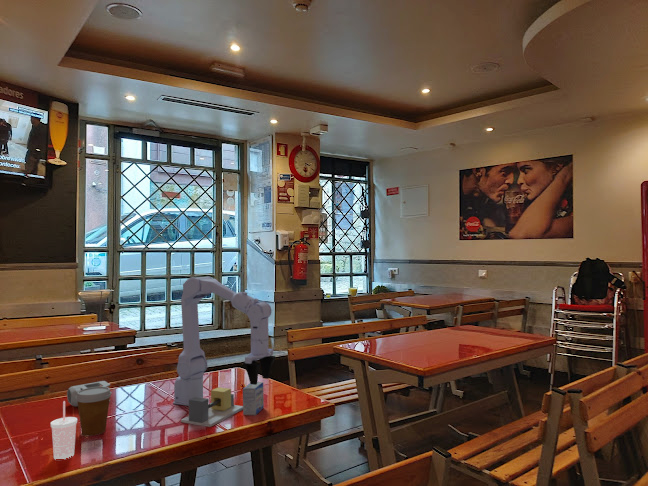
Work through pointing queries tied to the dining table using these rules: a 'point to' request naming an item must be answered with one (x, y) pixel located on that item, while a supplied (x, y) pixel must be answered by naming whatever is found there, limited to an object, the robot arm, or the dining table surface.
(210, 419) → the grey board with rod
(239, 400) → the dining table surface
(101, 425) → the disposable coffee cup
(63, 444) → the beverage cup
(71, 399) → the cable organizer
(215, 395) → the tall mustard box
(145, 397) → the dining table surface
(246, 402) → the medicine box
